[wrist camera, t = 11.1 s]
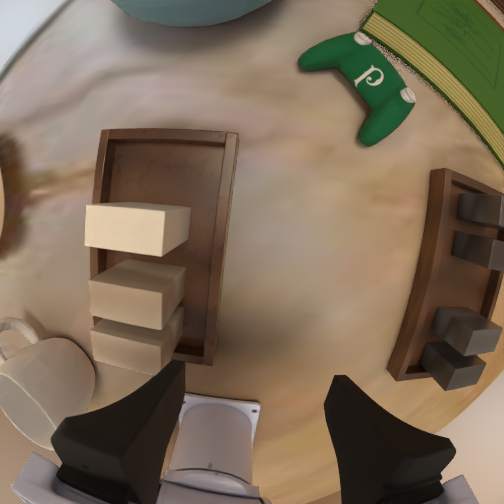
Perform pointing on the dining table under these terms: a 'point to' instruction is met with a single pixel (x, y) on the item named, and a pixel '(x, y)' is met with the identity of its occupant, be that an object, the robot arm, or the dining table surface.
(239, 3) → the vase
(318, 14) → the dining table surface
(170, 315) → the brown wooden tray
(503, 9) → the book
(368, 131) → the gaming controller
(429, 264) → the wooden desk organizer
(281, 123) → the dining table surface
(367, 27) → the hardcover book
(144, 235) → the cream rectangular block
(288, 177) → the dining table surface
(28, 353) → the mug
